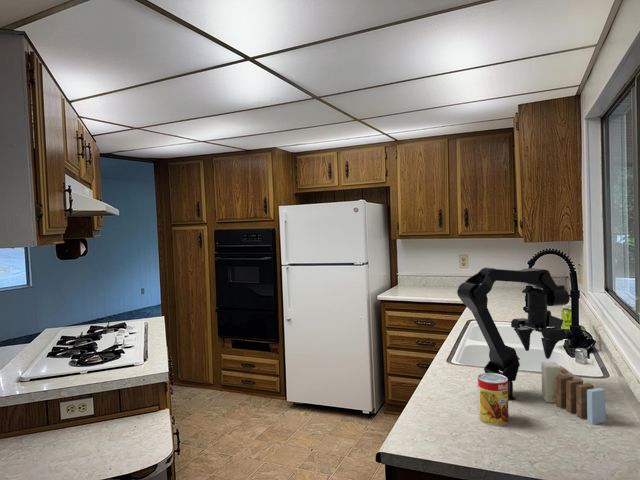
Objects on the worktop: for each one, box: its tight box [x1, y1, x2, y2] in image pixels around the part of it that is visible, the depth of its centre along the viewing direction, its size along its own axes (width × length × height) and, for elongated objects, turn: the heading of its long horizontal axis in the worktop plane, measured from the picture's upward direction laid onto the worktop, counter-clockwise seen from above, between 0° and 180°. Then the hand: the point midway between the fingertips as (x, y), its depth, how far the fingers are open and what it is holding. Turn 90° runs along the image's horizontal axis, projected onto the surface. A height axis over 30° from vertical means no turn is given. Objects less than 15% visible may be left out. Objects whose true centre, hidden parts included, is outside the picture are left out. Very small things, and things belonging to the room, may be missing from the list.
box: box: [540, 361, 561, 404], centre depth 134 cm, size 5×4×11 cm
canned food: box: [477, 372, 510, 427], centre depth 122 cm, size 8×8×12 cm
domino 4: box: [586, 387, 606, 425], centre depth 119 cm, size 2×4×9 cm, turn 104°
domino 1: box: [556, 375, 573, 409], centre depth 129 cm, size 2×4×9 cm, turn 104°
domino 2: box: [566, 379, 584, 414], centre depth 126 cm, size 2×4×9 cm, turn 104°
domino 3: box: [576, 382, 595, 420], centre depth 122 cm, size 2×4×9 cm, turn 104°
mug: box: [559, 365, 585, 384], centre depth 144 cm, size 8×10×10 cm
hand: (537, 354), depth 142 cm, fingers open, 9 cm apart
